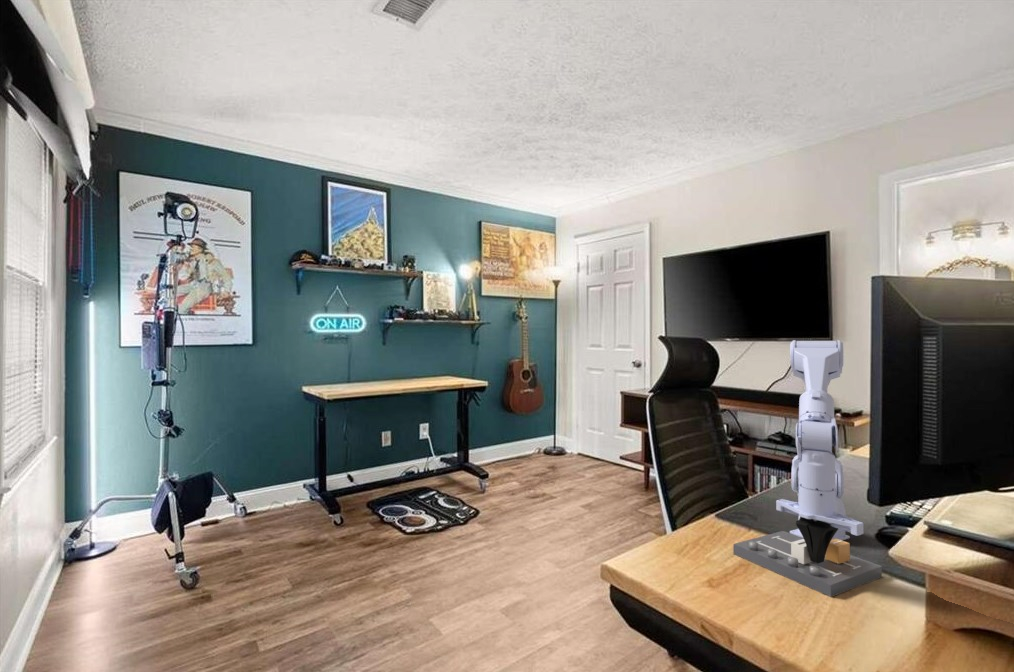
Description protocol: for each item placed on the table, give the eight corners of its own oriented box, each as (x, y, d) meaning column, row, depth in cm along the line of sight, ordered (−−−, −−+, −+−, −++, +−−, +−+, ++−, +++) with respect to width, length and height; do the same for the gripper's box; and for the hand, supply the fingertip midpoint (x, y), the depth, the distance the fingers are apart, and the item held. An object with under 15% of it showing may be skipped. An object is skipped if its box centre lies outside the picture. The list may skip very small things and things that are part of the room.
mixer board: (783, 539, 107) (783, 525, 107) (882, 577, 90) (881, 559, 90) (733, 553, 99) (733, 538, 100) (830, 597, 83) (830, 577, 83)
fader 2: (836, 555, 94) (836, 538, 94) (849, 560, 92) (849, 542, 92) (825, 558, 92) (825, 541, 92) (838, 564, 90) (838, 546, 90)
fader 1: (802, 555, 94) (802, 538, 94) (815, 560, 91) (815, 543, 92) (791, 559, 92) (791, 541, 92) (803, 564, 90) (803, 546, 90)
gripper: (766, 479, 94) (766, 550, 94) (846, 501, 81) (847, 583, 81) (788, 475, 98) (789, 543, 97) (869, 495, 85) (870, 574, 84)
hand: (817, 561), depth 89 cm, fingers closed
